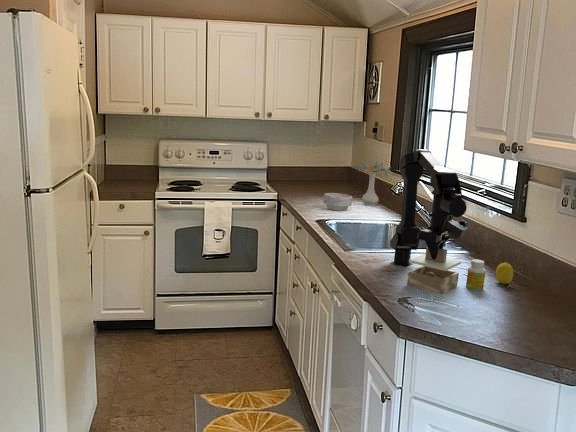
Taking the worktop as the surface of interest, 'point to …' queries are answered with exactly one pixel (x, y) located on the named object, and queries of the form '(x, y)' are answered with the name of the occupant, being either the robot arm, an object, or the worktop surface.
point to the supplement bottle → (476, 275)
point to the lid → (436, 260)
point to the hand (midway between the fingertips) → (435, 258)
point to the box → (432, 279)
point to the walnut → (431, 274)
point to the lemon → (504, 273)
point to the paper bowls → (337, 201)
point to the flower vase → (372, 181)
